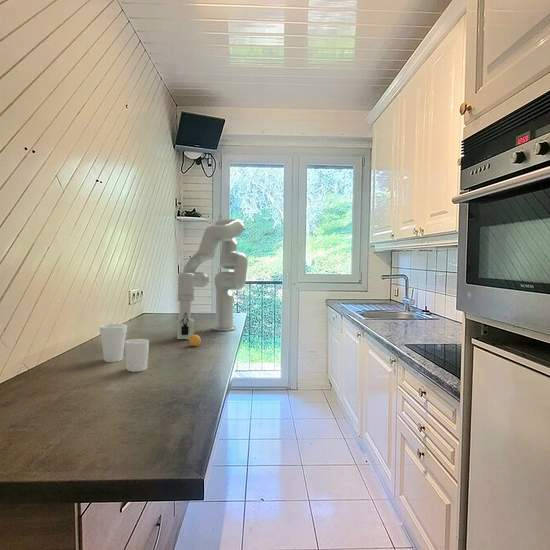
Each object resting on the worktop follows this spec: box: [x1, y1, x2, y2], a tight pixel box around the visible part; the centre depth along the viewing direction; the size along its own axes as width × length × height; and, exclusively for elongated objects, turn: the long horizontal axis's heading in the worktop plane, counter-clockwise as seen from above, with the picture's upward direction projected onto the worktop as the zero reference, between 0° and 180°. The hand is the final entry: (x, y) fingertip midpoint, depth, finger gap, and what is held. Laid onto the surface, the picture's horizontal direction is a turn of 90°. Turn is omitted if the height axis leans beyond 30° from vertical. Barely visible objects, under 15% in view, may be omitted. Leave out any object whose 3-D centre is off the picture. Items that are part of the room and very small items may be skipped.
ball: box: [188, 334, 202, 347], centre depth 175 cm, size 5×5×5 cm
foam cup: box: [99, 323, 128, 363], centre depth 149 cm, size 10×9×13 cm
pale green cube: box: [176, 318, 195, 340], centre depth 191 cm, size 8×8×9 cm
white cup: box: [124, 338, 150, 373], centre depth 138 cm, size 8×8×10 cm
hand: (184, 333), depth 191 cm, fingers open, 9 cm apart
